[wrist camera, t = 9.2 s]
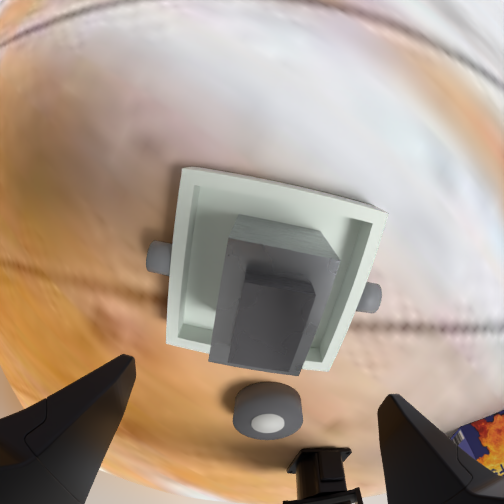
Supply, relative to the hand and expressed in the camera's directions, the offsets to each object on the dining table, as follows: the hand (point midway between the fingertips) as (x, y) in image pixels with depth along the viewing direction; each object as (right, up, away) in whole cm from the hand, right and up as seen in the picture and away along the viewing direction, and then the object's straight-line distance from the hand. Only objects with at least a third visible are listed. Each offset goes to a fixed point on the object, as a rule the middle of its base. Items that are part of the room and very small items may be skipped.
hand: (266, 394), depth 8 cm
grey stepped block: (+1, +3, +10) cm, 10 cm away
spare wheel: (+1, -9, +15) cm, 17 cm away
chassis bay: (+1, +3, +10) cm, 11 cm away
